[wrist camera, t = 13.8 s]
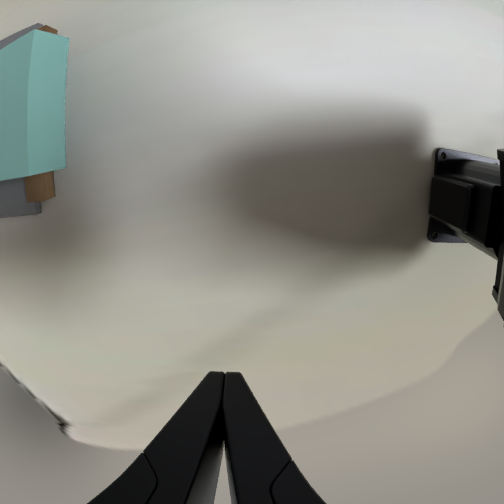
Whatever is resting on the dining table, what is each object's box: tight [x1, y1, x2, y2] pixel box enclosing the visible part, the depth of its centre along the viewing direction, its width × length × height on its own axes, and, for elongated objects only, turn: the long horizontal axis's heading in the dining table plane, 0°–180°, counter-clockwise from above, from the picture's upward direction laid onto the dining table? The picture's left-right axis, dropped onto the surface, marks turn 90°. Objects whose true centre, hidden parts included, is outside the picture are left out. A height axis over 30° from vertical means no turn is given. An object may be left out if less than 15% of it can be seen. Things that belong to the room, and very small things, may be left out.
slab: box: [0, 29, 69, 181], centre depth 13 cm, size 3×8×9 cm
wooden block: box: [25, 25, 57, 203], centre depth 15 cm, size 2×12×2 cm, turn 0°
